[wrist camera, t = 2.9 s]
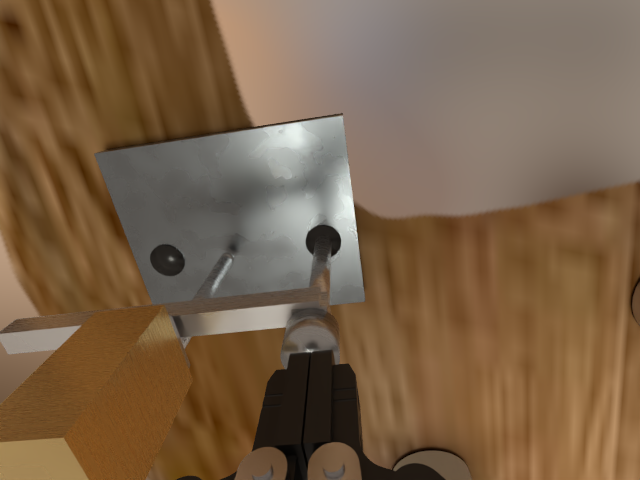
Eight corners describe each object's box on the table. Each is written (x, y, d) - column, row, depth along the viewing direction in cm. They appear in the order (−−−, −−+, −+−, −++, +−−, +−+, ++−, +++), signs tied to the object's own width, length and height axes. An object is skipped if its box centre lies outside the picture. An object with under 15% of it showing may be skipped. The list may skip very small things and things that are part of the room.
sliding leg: (237, 208, 26) (63, 437, 9) (250, 259, 27) (120, 531, 11) (196, 214, 26) (-42, 445, 10) (211, 264, 28) (28, 535, 11)
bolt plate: (342, 113, 25) (348, 154, 12) (364, 291, 30) (384, 456, 17) (100, 150, 27) (-133, 223, 13) (162, 312, 32) (39, 476, 19)
